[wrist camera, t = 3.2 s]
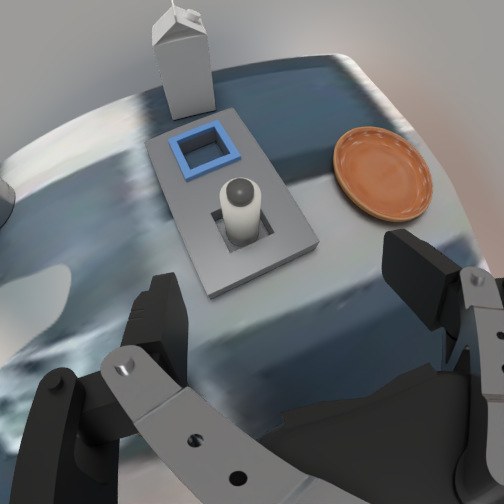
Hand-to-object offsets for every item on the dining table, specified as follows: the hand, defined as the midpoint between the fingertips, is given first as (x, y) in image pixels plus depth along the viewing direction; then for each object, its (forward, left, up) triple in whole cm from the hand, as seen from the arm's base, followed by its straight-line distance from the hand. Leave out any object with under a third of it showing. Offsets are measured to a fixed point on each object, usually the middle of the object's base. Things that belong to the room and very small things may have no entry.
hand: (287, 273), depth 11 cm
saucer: (+25, +10, -24) cm, 36 cm away
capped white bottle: (+3, +11, -23) cm, 26 cm away
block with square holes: (+3, +17, -23) cm, 29 cm away
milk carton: (+6, +36, -24) cm, 44 cm away
